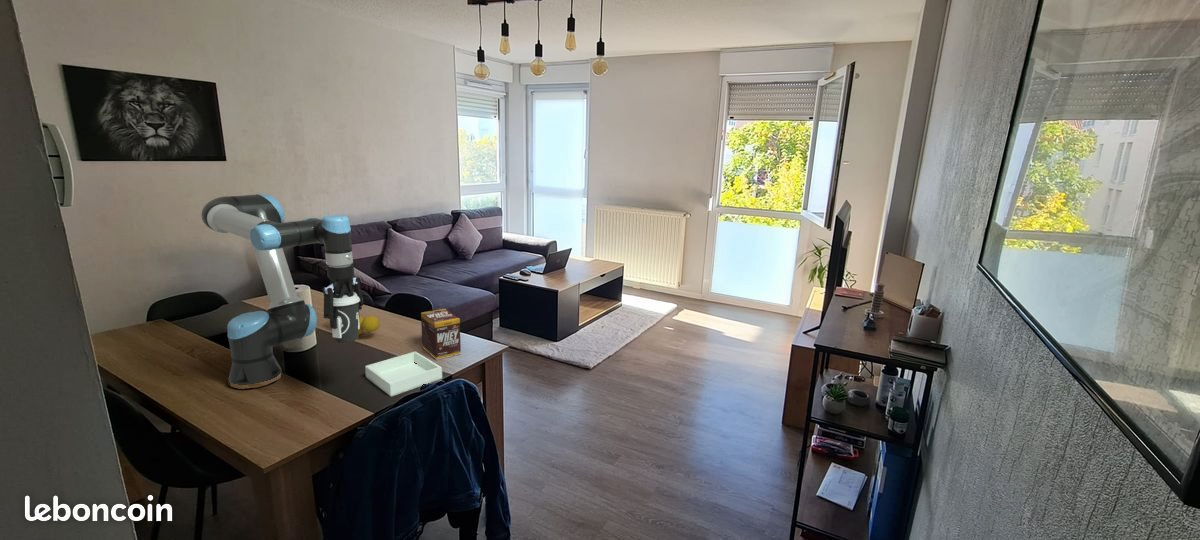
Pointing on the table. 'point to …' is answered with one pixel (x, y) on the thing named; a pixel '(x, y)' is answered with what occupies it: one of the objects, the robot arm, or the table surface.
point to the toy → (368, 324)
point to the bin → (403, 373)
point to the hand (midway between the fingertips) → (346, 332)
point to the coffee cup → (347, 317)
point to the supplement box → (440, 333)
